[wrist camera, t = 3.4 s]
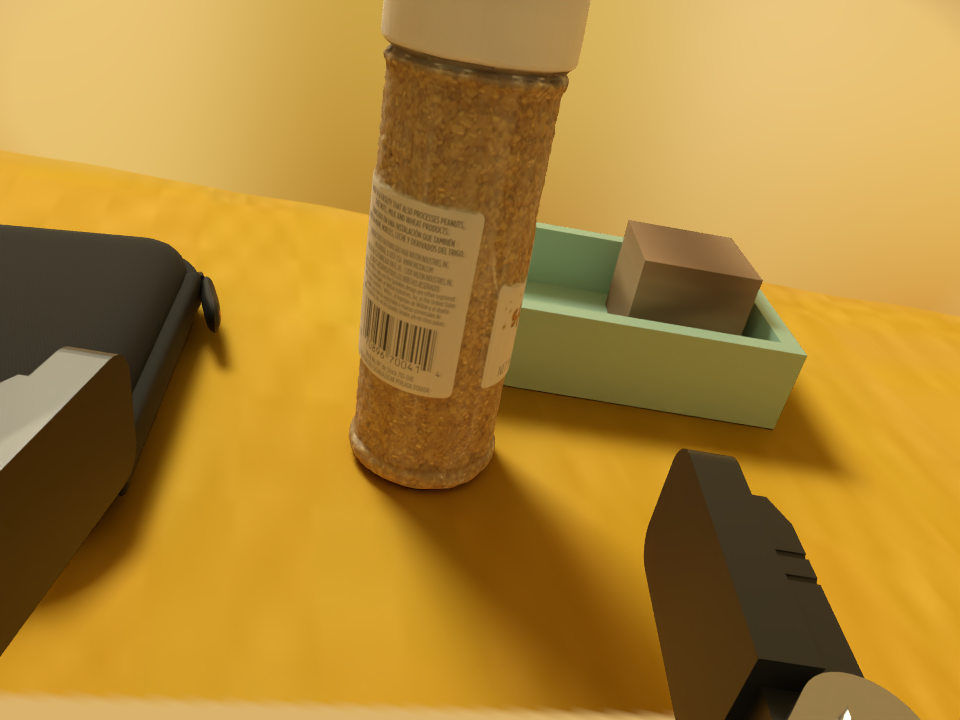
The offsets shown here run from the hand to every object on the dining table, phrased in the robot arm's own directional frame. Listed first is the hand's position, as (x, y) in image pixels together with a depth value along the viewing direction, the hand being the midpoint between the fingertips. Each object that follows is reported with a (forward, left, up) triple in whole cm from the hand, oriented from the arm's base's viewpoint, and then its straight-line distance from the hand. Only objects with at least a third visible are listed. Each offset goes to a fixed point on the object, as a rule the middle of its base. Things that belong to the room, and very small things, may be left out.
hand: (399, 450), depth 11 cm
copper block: (+9, +19, -7) cm, 22 cm away
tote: (+6, +19, -7) cm, 21 cm away
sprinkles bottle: (0, +10, -7) cm, 12 cm away
